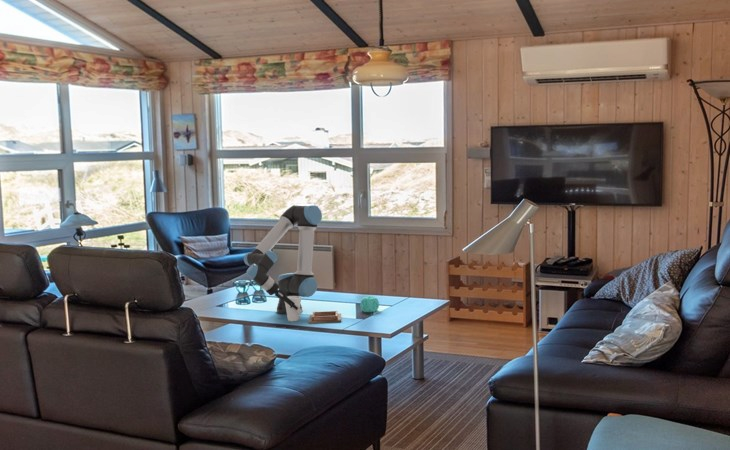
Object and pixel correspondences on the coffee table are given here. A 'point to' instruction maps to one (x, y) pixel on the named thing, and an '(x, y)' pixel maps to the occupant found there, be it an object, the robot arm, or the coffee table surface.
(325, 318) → the dock board
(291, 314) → the foam cup
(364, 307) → the green textured ball
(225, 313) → the coffee table surface
